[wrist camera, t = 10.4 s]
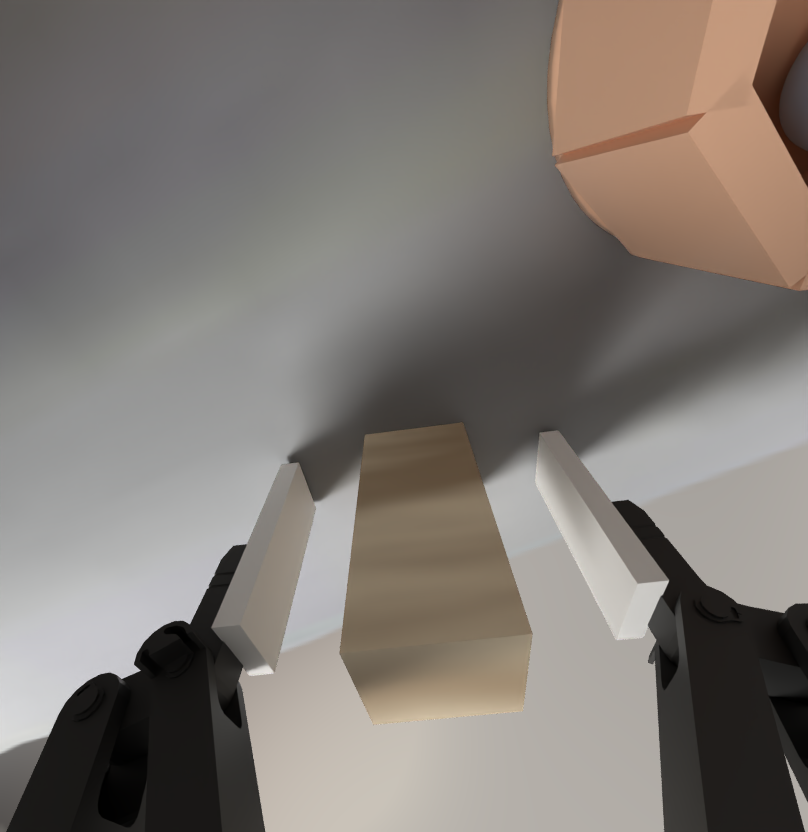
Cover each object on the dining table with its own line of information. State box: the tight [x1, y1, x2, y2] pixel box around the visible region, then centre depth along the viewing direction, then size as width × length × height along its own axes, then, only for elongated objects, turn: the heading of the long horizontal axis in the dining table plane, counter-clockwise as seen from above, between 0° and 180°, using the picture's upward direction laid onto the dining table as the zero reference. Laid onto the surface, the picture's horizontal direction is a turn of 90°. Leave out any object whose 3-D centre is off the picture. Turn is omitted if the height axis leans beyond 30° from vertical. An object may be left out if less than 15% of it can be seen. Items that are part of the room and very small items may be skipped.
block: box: [340, 422, 532, 725], centre depth 12 cm, size 4×4×8 cm
